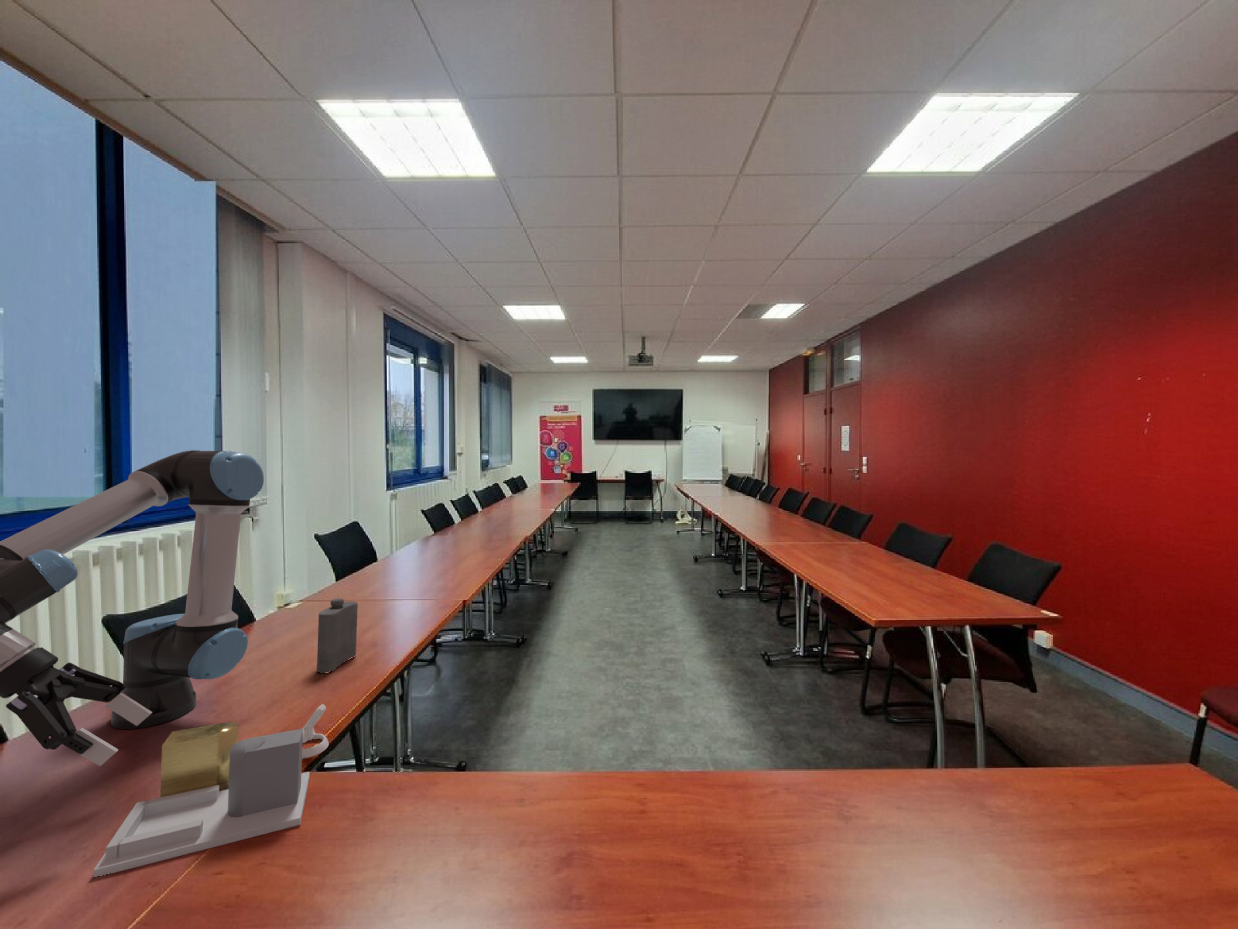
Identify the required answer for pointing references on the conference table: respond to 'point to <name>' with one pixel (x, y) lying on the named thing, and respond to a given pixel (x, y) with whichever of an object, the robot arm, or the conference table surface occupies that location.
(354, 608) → the flask
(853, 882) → the conference table surface
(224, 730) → the block
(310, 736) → the hook
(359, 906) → the conference table surface
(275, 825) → the hinge base
